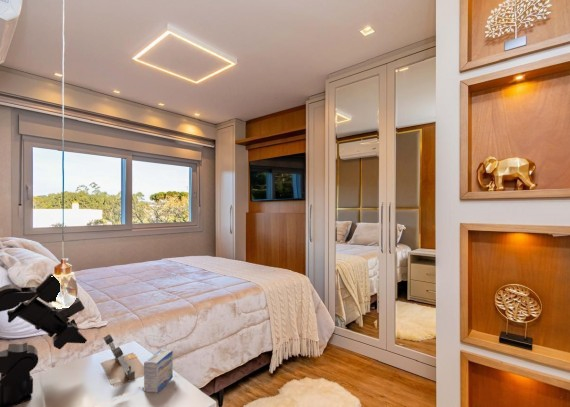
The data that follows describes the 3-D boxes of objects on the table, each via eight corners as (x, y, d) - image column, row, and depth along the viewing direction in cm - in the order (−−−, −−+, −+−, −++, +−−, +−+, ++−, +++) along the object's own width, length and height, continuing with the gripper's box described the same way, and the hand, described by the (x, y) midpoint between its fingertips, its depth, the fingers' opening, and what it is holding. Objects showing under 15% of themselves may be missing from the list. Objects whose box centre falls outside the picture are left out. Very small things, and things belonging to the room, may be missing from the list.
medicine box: (157, 393, 83) (157, 363, 83) (143, 391, 84) (143, 361, 84) (173, 378, 90) (173, 350, 91) (160, 376, 91) (160, 348, 92)
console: (112, 392, 83) (112, 380, 83) (99, 367, 96) (99, 357, 97) (150, 377, 90) (150, 366, 91) (133, 356, 104) (133, 346, 104)
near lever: (127, 378, 87) (114, 354, 85) (124, 374, 89) (111, 350, 87) (133, 374, 89) (121, 349, 86) (130, 370, 91) (118, 346, 89)
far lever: (116, 363, 96) (105, 340, 94) (114, 360, 98) (103, 338, 96) (123, 359, 97) (111, 336, 95) (120, 355, 99) (109, 334, 97)
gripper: (69, 298, 81) (113, 327, 89) (61, 286, 95) (100, 311, 102) (32, 335, 76) (82, 362, 83) (29, 316, 89) (72, 340, 97)
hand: (85, 341), depth 91 cm, fingers closed
